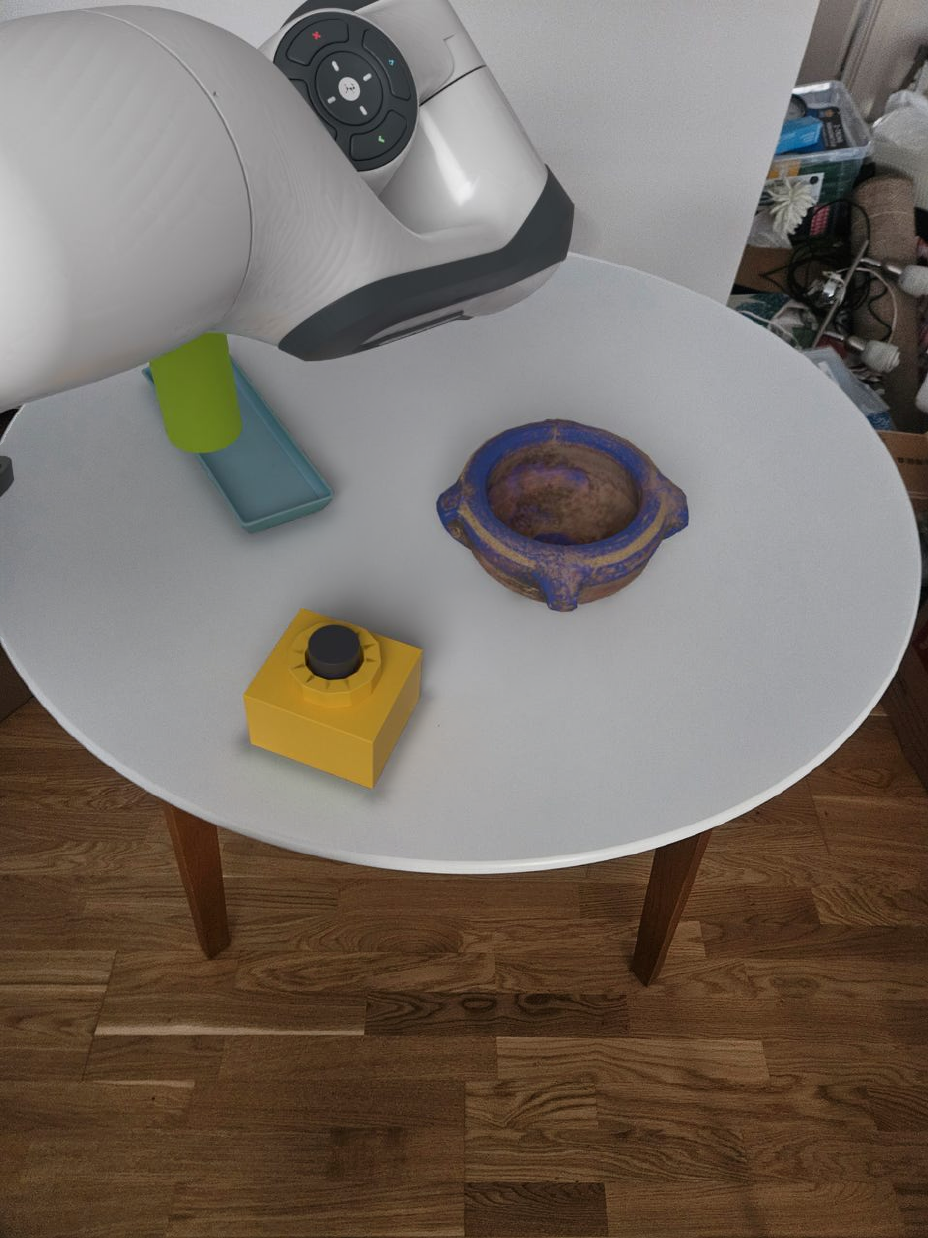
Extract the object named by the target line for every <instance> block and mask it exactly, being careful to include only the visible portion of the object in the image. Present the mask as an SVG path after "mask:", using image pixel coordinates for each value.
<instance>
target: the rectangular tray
mask: <svg viewBox="0 0 928 1238" xmlns="http://www.w3.org/2000/svg"><path fill="white" fill-rule="evenodd" d="M230 358H231V364H232V370H233V376H234V382H235V387H236V393H237V399H238V405H239V410H240V416H241V422H242V430H241V433H240V435H239V436H238V438H237V439H236V440H235V441H234V442H233V443H232V444H230V445H229V446H227V447H225V448H223V449H220V450H217V451H214V452H208V453H193V454H194V456H195V457H196V458H197V460H198V462H199V463H200V464H201V466H202V468H203V469H204V471H205V472H206V474H207V476H208V477H209V479H210V480H211V482H213V484H214V486H215V488H216V489H217V491H218V492H219V494H220V495H221V497H222V498H223V500H224V502H225V503H226V505H227V507H228V508H229V510H230V511H231V513H232V514H233V516H234V517H235V519H236V522H237V523H238V524H239V526H240V527H241V528H242V529H243V530H245V531H246V533H248V534H255V533H258V532H262V531H264V530H267V529H270V528H273V527H276V526H280V525H283V524H285V523H288V522H290V521H294V520H297V519H299V518H303V517H305V516H308V515H311V514H315V513H318V512H320V511H323V510H324V509H325V508H326V506H328V505H329V503H330V502H331V501H332V500H333V499H334V498H335V496H336V493H335V491H334V490H333V489H332V487H331V486H330V485H329V483H327V481H326V479H325V478H324V477H323V476H322V474H321V473H320V472H319V470H318V469H317V468H316V466H315V465H314V464H313V463H312V461H311V460H310V459H309V457H308V456H307V455H306V453H305V452H304V451H303V450H302V448H301V447H300V445H299V444H298V443H297V442H296V440H295V438H294V437H293V436H292V435H291V434H290V432H289V430H288V429H287V428H286V427H285V425H284V424H283V423H282V421H281V420H280V419H279V417H278V416H277V414H276V413H275V412H274V411H273V409H272V408H271V407H270V406H269V404H268V403H267V401H266V400H265V399H264V397H263V395H261V393H260V392H259V391H258V389H257V387H255V385H254V384H253V383H252V381H251V380H250V379H249V377H248V376H247V374H246V373H245V371H244V370H243V369H242V368H241V367H240V365H239V364H238V362H237V361H236V360H235V359H234V357H233V356H232V354H230ZM141 375H142V376H143V377H144V378H145V380H146V381H147V383H148V384H149V385H150V387H151V388H152V390H153V392H155V395H156V396H157V393H156V389H155V385H154V381H153V377H152V373H151V369H150V366H147V367H145V368H143V369H142V370H141Z"/></svg>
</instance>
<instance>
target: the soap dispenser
mask: <svg viewBox="0 0 928 1238" xmlns="http://www.w3.org/2000/svg"><path fill="white" fill-rule="evenodd" d="M227 335H228V334H223V333H205V334H203V335H201V336H199V337H198V338H196V339H194V340H192V341H190V342H189V343H187V344H185V345H183V346H181V347H179V348H177V349H176V350H174V351H172V352H170V353H167V354H165V355H163V356H161V357H159V358H156V359H154V360H152V361H150V362H148V365H149V367H150V369H151V373H152V377H153V381H154V385H155V389H156V393H157V395H156V397H157V399H158V405H159V408H160V412H161V417H162V420H163V424H164V428H165V432H166V436H167V439H168V441H169V442H170V443H171V444H172V445H173V446H174V447H176V448H177V449H179V450H181V451H184V452H187V453H193V454H194V453H208V452H214V451H217V450H220V449H223V448H225V447H227V446H229V445H230V444H232V443H233V442H234V441H235V440H236V439H237V438H238V436H239V435H240V433H241V430H242V422H241V416H240V410H239V405H238V399H237V393H236V387H235V382H234V376H233V370H232V364H231V358H230V355H231V353H230V348H229V342H228V341H229V340H228V337H227ZM156 393H155V394H156Z"/></svg>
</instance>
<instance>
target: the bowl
mask: <svg viewBox="0 0 928 1238" xmlns="http://www.w3.org/2000/svg"><path fill="white" fill-rule="evenodd" d="M435 507H436V509H435V510H436V513H437V516H438V518H439V521H440V524H441V525H442V526H443V528H444V530H445V531H446V532H447V533H448V534H449V536H451V537H452V539H454V540H455V541H457V542H458V543H460V544H461V545H462V546H464V547H465V548H466V549H467V550H470V552H471V553H472V555H473V557H474V558H475V560H476V561H477V562H478V564H479V565H480V566H481V568H482V569H483V570H484V571H485V572H486V573H487V574H488V575H489V576H490V577H491V578H493V579H494V580H495V581H496V582H498V583H499V584H500V585H502V586H503V587H505V588H507V589H509V591H512V592H513V593H516V594H518V595H519V596H523V597H525V598H526V599H530V600H533V601H537V602H539V603H542V604H546V606H547V607H548V609H549V610H551V611H555V612H560V613H567V612H573V611H574V610H576V609H578V605H584V604H589V603H593V602H596V601H598V600H602V599H605V598H607V597H610V596H612V595H615V594H617V593H618V592H620V591H621V590H623V589H624V588H626V587H628V586H629V585H630V584H632V582H634V581H635V580H636V579H637V578H638V577H639V576H640V575H641V574H642V573H643V571H644V570H645V569H646V567H647V565H648V564H649V562H650V560H651V559H652V558H653V556H654V554H655V553H656V552H657V550H658V548H659V547H660V545H661V543H662V542H663V541H664V540H666V539H669V538H671V537H673V536H674V535H675V534H678V533H680V532H682V531H683V530H684V529H685V528H688V526H689V522H690V513H689V512H690V511H689V506H688V500H687V495H686V493H685V492H684V491H683V489H682V488H680V487H679V486H678V485H676V484H675V483H674V482H672V480H670V479H669V478H668V477H667V476H666V475H664V474H663V473H662V471H661V470H660V469H659V467H658V466H657V465H656V464H655V462H653V460H652V459H651V457H650V456H649V455H648V454H647V453H645V452H644V451H643V450H642V449H641V448H639V447H638V446H636V445H635V444H634V443H632V442H631V441H630V440H628V439H626V438H624V437H621V436H619V435H618V434H615V433H613V432H611V431H609V430H606V429H603V428H600V427H595V426H592V425H588V424H584V423H580V422H577V421H575V420H570V419H563V418H554V419H553V418H547V419H543V420H540V421H533V422H529V423H525V424H522V425H518V426H514V427H511V428H507V429H504V430H503V431H501V432H499V433H497V434H496V435H494V436H492V437H490V438H488V439H487V440H485V441H484V442H483V443H482V444H481V445H480V446H479V447H478V448H477V449H476V450H474V452H473V453H472V454H471V455H470V456H469V458H468V460H467V461H466V463H465V465H464V467H463V469H462V471H461V473H460V475H459V476H458V478H457V479H456V482H455V483H453V484H452V485H451V486H449V487H447V489H445V490H444V491H442V492H441V493H440V494H439V495H438V498H437V499H436V502H435Z"/></svg>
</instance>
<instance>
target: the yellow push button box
mask: <svg viewBox="0 0 928 1238" xmlns="http://www.w3.org/2000/svg"><path fill="white" fill-rule="evenodd" d="M327 625H342V626H346V627H348V628H350V629H351V630H353V631H354V632H355V633H356V634H357V636H358V638H359V641H360V663H359V666H358V668H357V669H356V670H355V671H354V672H353V673H352V674H351V675H349V676H347V677H345V678H342V679H326V678H323V677H321V676H319V675H317V674H316V673H315V672H314V671H313V670H312V669H311V667H310V664H309V654H308V641H309V638H310V637H311V635H312V634H313V633H314V632H315V631H316V630H317V629H319V628H321V627H324V626H327ZM266 658H267V659H266V660H265V661H264V663H263V664H262V666H261V667H260V669H259V670H258V672H257V673H256V674H255V677H253V679H252V681H251V682H250V684H249V686H247V688H246V690H245V692H244V693H243V694H242V698H243V705H244V710H245V716H246V722H247V728H248V736H249V742H250V744H251V745H254V746H256V747H259V748H262V749H264V750H267V751H269V752H272V753H274V754H278V755H280V756H283V757H286V758H288V759H291V760H294V761H295V762H298V763H301V764H304V765H307V766H309V767H312V768H315V769H316V770H320V771H323V772H326V773H328V774H330V775H333V776H336V777H338V778H341V779H344V780H347V781H349V782H352V783H354V784H357V785H360V786H363V787H365V788H368V789H370V790H374V787H375V785H376V784H377V782H378V780H379V778H380V776H381V774H382V772H383V770H384V768H385V766H386V765H387V762H388V761H389V758H390V757H391V754H392V752H393V751H394V749H395V746H396V745H397V743H398V741H399V739H400V737H401V735H402V733H403V731H404V729H405V727H406V725H407V724H408V721H409V719H410V718H411V715H412V714H413V711H414V709H415V707H416V706H417V704H418V701H419V700H420V693H421V676H422V665H423V664H422V663H423V662H422V661H423V648H422V649H421V648H420V647H416V646H413V645H410V644H407V643H405V642H402V641H399V640H396V639H393V638H390V637H387V636H384V635H381V634H378V633H377V632H376V633H375V632H374V631H370V630H368V629H366V628H365V627H362V626H359V625H356V624H353V623H350V622H347V621H344V620H339V619H336V618H332V617H330V616H326V615H323V614H320V613H317V612H315V611H312V610H309V609H306V608H303V607H300V608H299V610H298V612H297V614H296V615H295V616H294V617H293V620H292V621H291V623H290V624H289V625H288V627H287V628H286V630H285V631H284V633H283V634H282V636H281V637H280V639H279V640H278V642H277V644H276V645H275V647H274V648H273V649H272V651H271V652H270V654H269V655H268V656H267V657H266Z"/></svg>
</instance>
